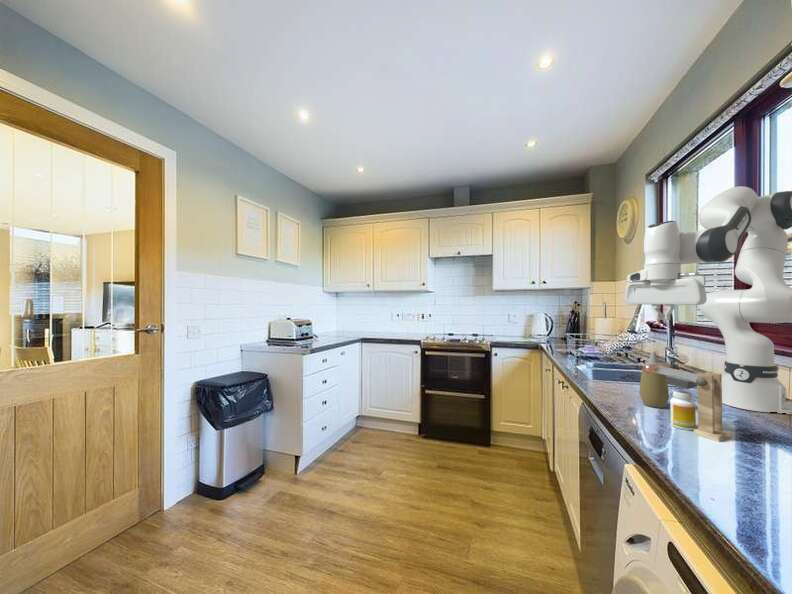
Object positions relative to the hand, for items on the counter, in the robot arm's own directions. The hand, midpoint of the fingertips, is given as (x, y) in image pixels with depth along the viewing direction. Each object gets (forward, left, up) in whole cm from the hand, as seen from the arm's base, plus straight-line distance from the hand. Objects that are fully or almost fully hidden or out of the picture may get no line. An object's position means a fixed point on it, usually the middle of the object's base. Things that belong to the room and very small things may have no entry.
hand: (663, 319), depth 101 cm
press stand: (+5, +12, -30) cm, 32 cm away
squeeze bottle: (-9, -8, -30) cm, 32 cm away
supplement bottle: (+5, +7, -30) cm, 31 cm away
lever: (+3, +6, -18) cm, 19 cm away
